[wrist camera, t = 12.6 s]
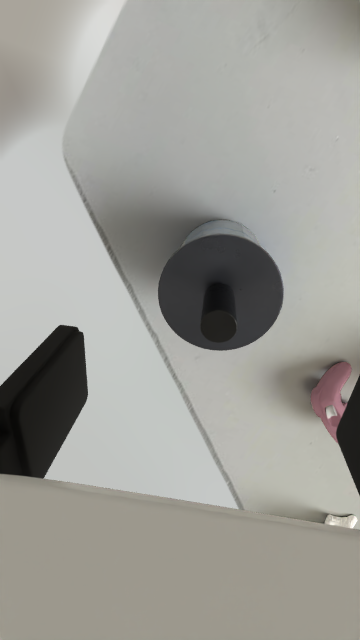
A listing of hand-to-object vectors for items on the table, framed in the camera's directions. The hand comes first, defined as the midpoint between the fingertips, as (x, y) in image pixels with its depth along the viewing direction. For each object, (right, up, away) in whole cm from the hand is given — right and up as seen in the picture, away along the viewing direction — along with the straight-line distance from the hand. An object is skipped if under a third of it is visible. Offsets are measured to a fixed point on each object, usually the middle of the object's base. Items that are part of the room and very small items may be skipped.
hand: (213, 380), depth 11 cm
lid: (+2, +4, +15) cm, 15 cm away
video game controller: (+19, -7, +28) cm, 34 cm away
